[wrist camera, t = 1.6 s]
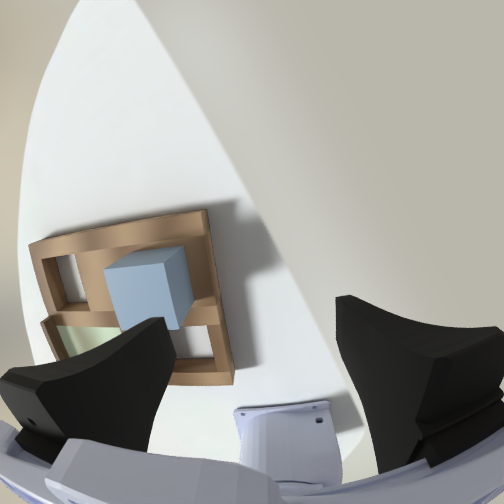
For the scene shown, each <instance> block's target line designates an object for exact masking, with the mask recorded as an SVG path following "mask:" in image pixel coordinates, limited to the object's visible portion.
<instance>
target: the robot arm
mask: <svg viewBox="0 0 504 504" xmlns="http://www.w3.org/2000/svg"><path fill="white" fill-rule="evenodd" d="M336 341H337V344H338V347H339V351H340V354H341V357H342V360H343V362H344V364H345V366H346V368H347V371H348V373H349V375H350V377H351V379H352V381H353V384H354V386H355V388H356V390H357V392H358V394H359V397H360V399H361V402H362V405H363V408H364V412H365V415H366V418H367V422H368V426H369V430H370V433H371V438H372V442H373V446H374V451H375V456H376V461H377V467H378V473H379V475H376V476H373V477H369V478H366V479H362V480H358V481H354V482H349V483H345V484H342V461H341V454H340V449H339V445H338V441H337V437H336V433H335V429H334V425H333V421H332V417H331V413H330V409H329V408H330V404H329V401H318V402H312V403H304V404H296V405H288V406H278V407H266V408H250V409H236V410H234V412H233V415H234V419H235V422H236V426H237V430H238V433H239V437H240V440H241V450H240V462H239V463H234V462H225V461H217V460H211V459H203V458H188V457H176V456H167V455H159V454H152V453H147V449H148V444H149V439H150V434H151V430H152V426H153V422H154V418H155V415H156V412H157V410H158V407H159V405H160V402H161V400H162V397H163V395H164V392H165V390H166V388H167V385H168V383H169V380H170V378H171V375H172V372H173V368H174V364H175V359H176V353H175V350H174V347H173V344H172V341H171V338H170V334H169V331H168V328H167V325H166V321H165V318H164V317H151V318H148V319H146V320H144V321H142V322H140V323H138V324H137V325H135V326H133V327H132V328H130V329H128V330H126V331H125V332H123V333H121V334H120V335H118V336H116V337H114V338H112V339H111V340H109V341H107V342H105V343H103V344H101V345H99V346H97V347H95V348H93V349H91V350H89V351H86V352H84V353H81V354H79V355H76V356H73V357H70V358H67V359H63V360H60V361H56V362H52V363H48V364H42V365H36V366H28V367H14V368H11V369H9V370H8V371H7V372H6V373H5V374H4V375H3V376H2V377H1V378H0V395H1V397H2V399H3V400H4V402H5V403H6V405H7V406H8V408H9V409H10V411H11V412H12V414H13V415H14V416H15V418H16V419H17V420H18V422H19V423H20V424H21V426H22V427H23V428H22V430H21V431H20V432H19V431H18V430H17V429H16V428H14V427H13V426H11V425H10V424H8V423H6V422H4V421H3V420H0V481H1V482H2V483H3V484H4V485H6V486H7V487H8V488H9V489H10V490H11V491H12V492H14V493H15V494H16V495H18V496H19V497H20V498H22V499H23V500H24V501H26V502H27V503H29V504H487V503H488V502H490V501H491V500H492V499H494V498H495V497H496V496H498V495H499V494H500V493H502V492H503V491H504V402H503V401H502V400H501V399H502V398H503V396H504V393H503V391H502V390H501V389H500V388H499V386H500V384H501V382H502V379H503V377H504V332H503V331H502V330H500V329H499V328H498V327H496V326H493V327H480V328H457V327H456V328H455V327H445V326H438V325H431V324H426V323H421V322H417V321H414V320H410V319H407V318H403V317H400V316H398V315H395V314H393V313H390V312H387V311H385V310H383V309H380V308H378V307H376V306H374V305H372V304H370V303H368V302H365V301H363V300H361V299H359V298H357V297H354V296H352V295H346V296H340V297H336ZM313 406H315V407H313Z"/></svg>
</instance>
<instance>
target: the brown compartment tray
mask: <svg viewBox="0 0 504 504" xmlns="http://www.w3.org/2000/svg"><path fill="white" fill-rule="evenodd" d="M183 245H184V250H185V256H186V261H187V266H188V272H189V277H190V282H191V287H192V291H193V296H194V303H193V305H192V307H191V308H190V310H189V312H188V314H187V316H186V318H185V320H184V322H183V324H182V325H181V326H201V325H207V329H208V334H209V338H210V342H211V347H212V351H213V355H214V358H210V359H175V364H174V368H173V372H172V375H171V378H170V380H169V383H168V385H180V386H222V385H233V382H234V374H235V368H234V363H233V358H232V353H231V348H230V343H229V338H228V333H227V328H226V322H225V317H224V312H223V306H222V301H221V295H220V289H219V284H218V278H217V272H216V266H215V260H214V254H213V247H212V241H211V234H210V228H209V221H208V214H207V209H204V210H197V211H190V212H184V213H177V214H171V215H165V216H158V217H152V218H147V219H141V220H135V221H130V222H124V223H119V224H113V225H108V226H103V227H98V228H93V229H88V230H83V231H78V232H74V233H69V234H65V235H60V236H56V237H51V238H47V239H43V240H39V241H37V242H34V243H31V244H29V245H28V246H29V251H30V255H31V259H32V263H33V267H34V271H35V274H36V278H37V281H38V285H39V288H40V291H41V295H42V298H43V301H44V304H45V306H46V309H47V312H48V315H49V316H48V317H47V318H46V319H44V320H43V321H42V322H40V324H41V327H42V329H43V332H44V334H45V336H46V339H47V341H48V343H49V346H50V348H51V350H52V352H53V354H54V356H55V359H56V361H60V360H63V359H67V358H70V357H73V356H76V355H79V354H81V353H84V352H86V351H89V350H91V349H93V348H95V347H97V346H99V345H101V344H103V343H105V342H107V341H109V340H111V339H112V338H114V337H116V336H118V335H120V334H121V333H123V332H125V331H126V330H121V328H120V325H119V322H118V319H117V316H116V313H115V310H114V307H113V303H112V300H111V297H110V293H109V290H108V286H107V283H106V279H105V275H104V271H103V269H105V268H106V267H108V266H110V265H111V264H113V263H114V262H116V261H118V260H119V259H121V258H123V257H124V256H126V255H127V254H129V253H131V252H136V251H143V250H151V249H159V248H167V247H175V246H183ZM69 254H75V258H76V262H77V266H78V270H79V274H80V278H81V281H82V285H83V288H84V292H85V295H86V298H87V301H88V302H84V303H68V301H67V298H66V295H65V291H64V288H63V285H62V281H61V278H60V274H59V270H58V267H57V263H56V259H55V257H56V256H63V255H69Z"/></svg>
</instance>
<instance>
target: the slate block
mask: <svg viewBox="0 0 504 504" xmlns="http://www.w3.org/2000/svg"><path fill="white" fill-rule="evenodd" d="M103 271H104V275H105V279H106V283H107V286H108V290H109V293H110V297H111V300H112V303H113V307H114V310H115V313H116V316H117V319H118V322H119V325H120V328H121V330H128V329H130V328H132V327H133V326H135V325H137V324H138V323H140V322H142V321H144V320H146V319H148V318H151V317H164V318H165V321H166V325H167V328H168V330H179V329H180V327H181V325H182V324H183V322H184V320H185V318H186V316H187V314H188V312H189V310H190V308H191V307H192V305H193V303H194V296H193V291H192V287H191V282H190V277H189V272H188V266H187V261H186V256H185V250H184V245H183V246H175V247H167V248H159V249H151V250H143V251H136V252H131V253H129V254H127V255H126V256H124V257H123V258H121V259H119V260H118V261H116V262H114V263H113V264H111V265H110V266H108V267H106V268H105V269H103Z"/></svg>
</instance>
